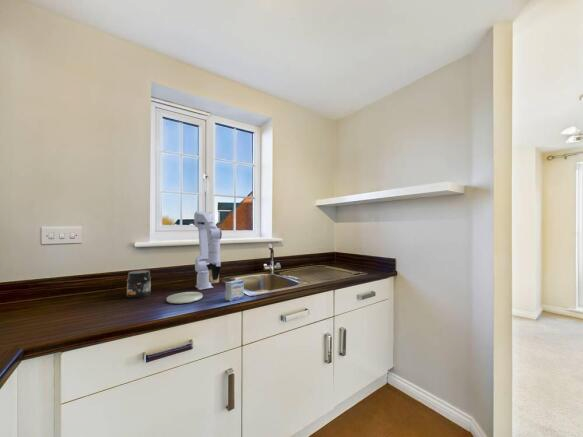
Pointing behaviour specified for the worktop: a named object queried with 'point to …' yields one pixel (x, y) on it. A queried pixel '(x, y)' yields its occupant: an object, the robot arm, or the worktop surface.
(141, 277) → the supplement container
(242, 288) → the medicine box
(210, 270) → the tan rectangular block
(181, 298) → the sage dish
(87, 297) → the worktop surface
